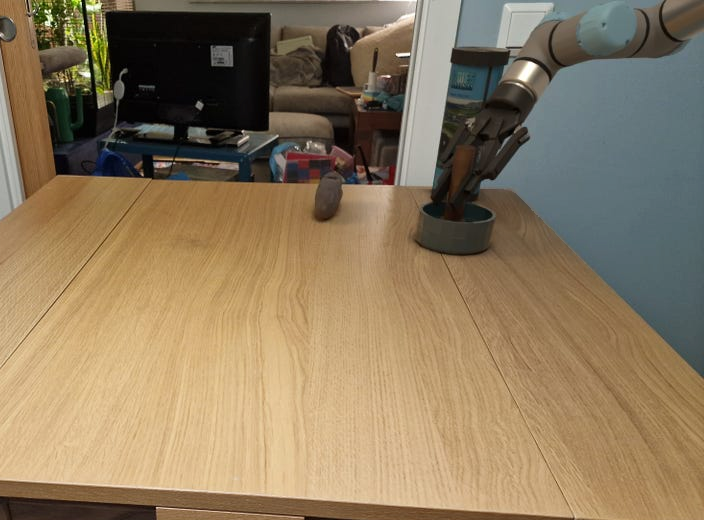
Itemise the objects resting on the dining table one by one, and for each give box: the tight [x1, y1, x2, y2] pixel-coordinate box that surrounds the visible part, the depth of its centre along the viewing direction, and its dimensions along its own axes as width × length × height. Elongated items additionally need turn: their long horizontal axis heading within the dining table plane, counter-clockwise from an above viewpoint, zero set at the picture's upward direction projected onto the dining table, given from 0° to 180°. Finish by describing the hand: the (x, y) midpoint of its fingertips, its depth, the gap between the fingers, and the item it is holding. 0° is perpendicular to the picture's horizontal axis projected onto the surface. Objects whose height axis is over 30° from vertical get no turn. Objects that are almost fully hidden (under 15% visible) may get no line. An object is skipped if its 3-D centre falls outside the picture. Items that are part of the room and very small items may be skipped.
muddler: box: [440, 145, 475, 222], centre depth 118 cm, size 4×4×14 cm
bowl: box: [414, 200, 497, 256], centre depth 121 cm, size 13×13×6 cm
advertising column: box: [431, 46, 512, 203], centre depth 141 cm, size 11×11×30 cm
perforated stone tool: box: [314, 171, 344, 219], centre depth 136 cm, size 15×5×7 cm, turn 162°
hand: (443, 204), depth 117 cm, fingers closed on muddler, 3 cm apart
